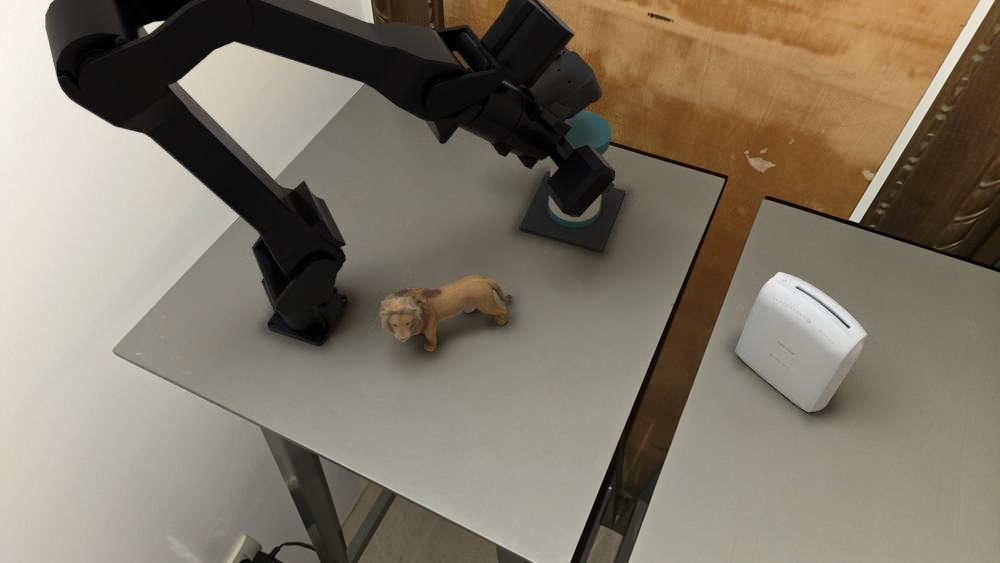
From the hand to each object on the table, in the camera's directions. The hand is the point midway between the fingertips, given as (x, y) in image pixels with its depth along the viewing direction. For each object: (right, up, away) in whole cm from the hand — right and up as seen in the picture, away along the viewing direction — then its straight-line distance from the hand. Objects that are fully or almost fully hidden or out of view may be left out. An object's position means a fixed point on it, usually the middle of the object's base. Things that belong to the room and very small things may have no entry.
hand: (588, 161), depth 84 cm
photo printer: (+18, -23, -8) cm, 30 cm away
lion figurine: (-15, -19, -5) cm, 25 cm away
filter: (-1, -5, +5) cm, 7 cm away
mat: (-1, -5, +5) cm, 8 cm away
